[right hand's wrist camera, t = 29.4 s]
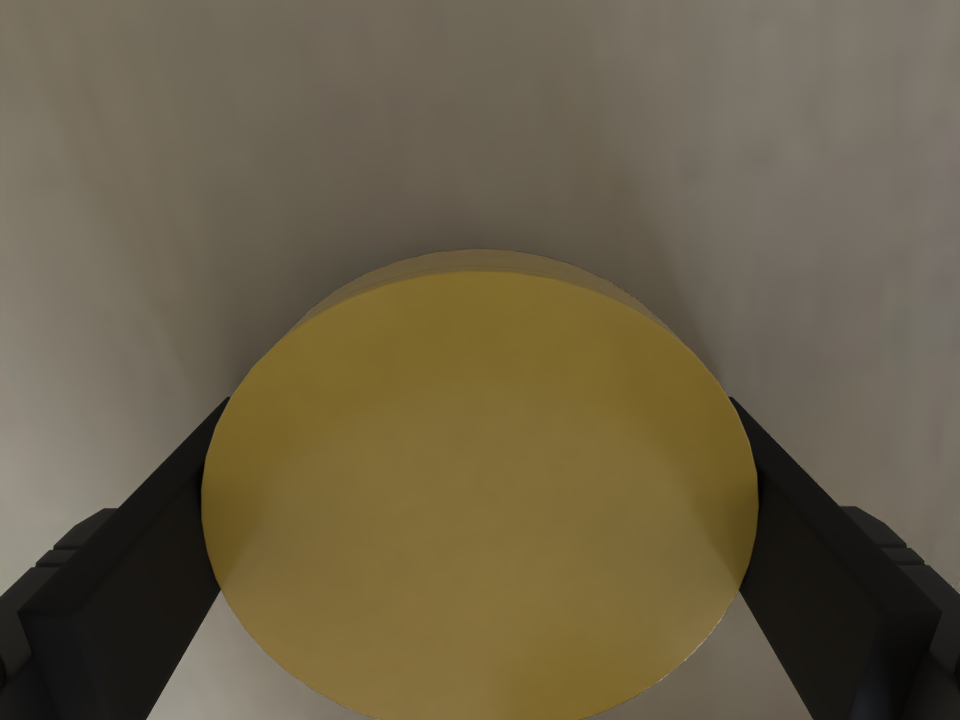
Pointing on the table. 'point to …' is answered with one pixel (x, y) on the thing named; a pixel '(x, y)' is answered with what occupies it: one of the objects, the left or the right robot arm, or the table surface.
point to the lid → (479, 493)
